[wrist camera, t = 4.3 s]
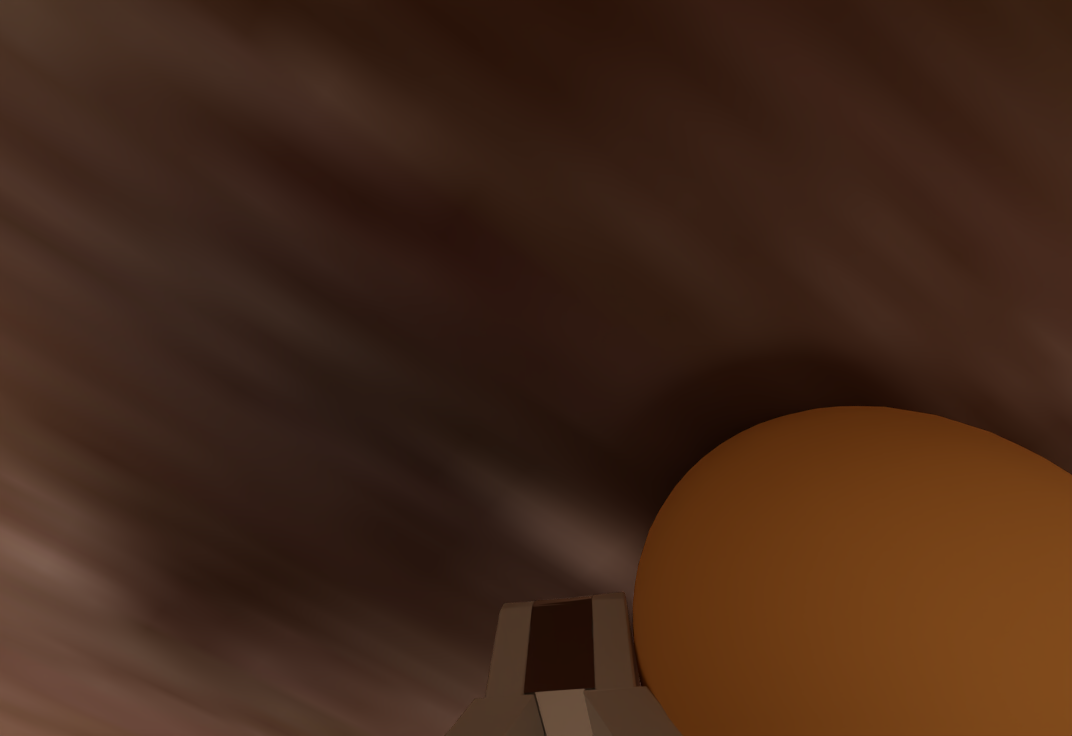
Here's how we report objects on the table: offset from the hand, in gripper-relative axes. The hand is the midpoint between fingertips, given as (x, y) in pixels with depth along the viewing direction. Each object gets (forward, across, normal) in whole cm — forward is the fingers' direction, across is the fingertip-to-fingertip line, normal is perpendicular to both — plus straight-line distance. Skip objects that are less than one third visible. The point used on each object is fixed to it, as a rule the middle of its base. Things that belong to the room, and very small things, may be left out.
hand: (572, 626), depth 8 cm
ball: (-1, -4, 0) cm, 4 cm away
